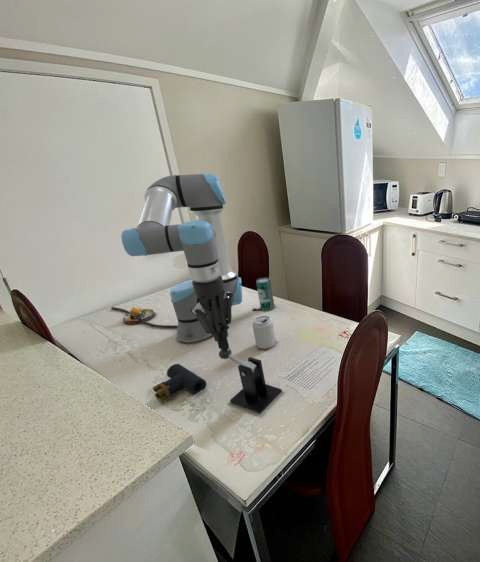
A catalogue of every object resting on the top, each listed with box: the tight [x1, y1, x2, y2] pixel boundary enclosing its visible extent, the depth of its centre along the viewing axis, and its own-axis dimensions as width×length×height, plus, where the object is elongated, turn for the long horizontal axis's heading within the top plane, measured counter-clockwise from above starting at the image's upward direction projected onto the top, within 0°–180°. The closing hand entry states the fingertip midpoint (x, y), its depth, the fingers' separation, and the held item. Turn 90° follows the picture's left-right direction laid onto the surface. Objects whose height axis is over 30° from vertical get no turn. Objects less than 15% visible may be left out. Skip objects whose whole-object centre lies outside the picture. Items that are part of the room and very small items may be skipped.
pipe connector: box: [152, 363, 207, 403], centre depth 102 cm, size 12×5×15 cm
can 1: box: [255, 277, 275, 312], centre depth 152 cm, size 6×6×15 cm
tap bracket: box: [229, 356, 283, 415], centre depth 97 cm, size 12×10×14 cm
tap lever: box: [218, 347, 257, 373], centre depth 96 cm, size 13×4×4 cm, turn 68°
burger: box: [122, 306, 155, 325], centre depth 146 cm, size 12×12×8 cm
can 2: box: [252, 315, 277, 350], centre depth 124 cm, size 8×8×12 cm
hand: (224, 348), depth 96 cm, fingers closed
